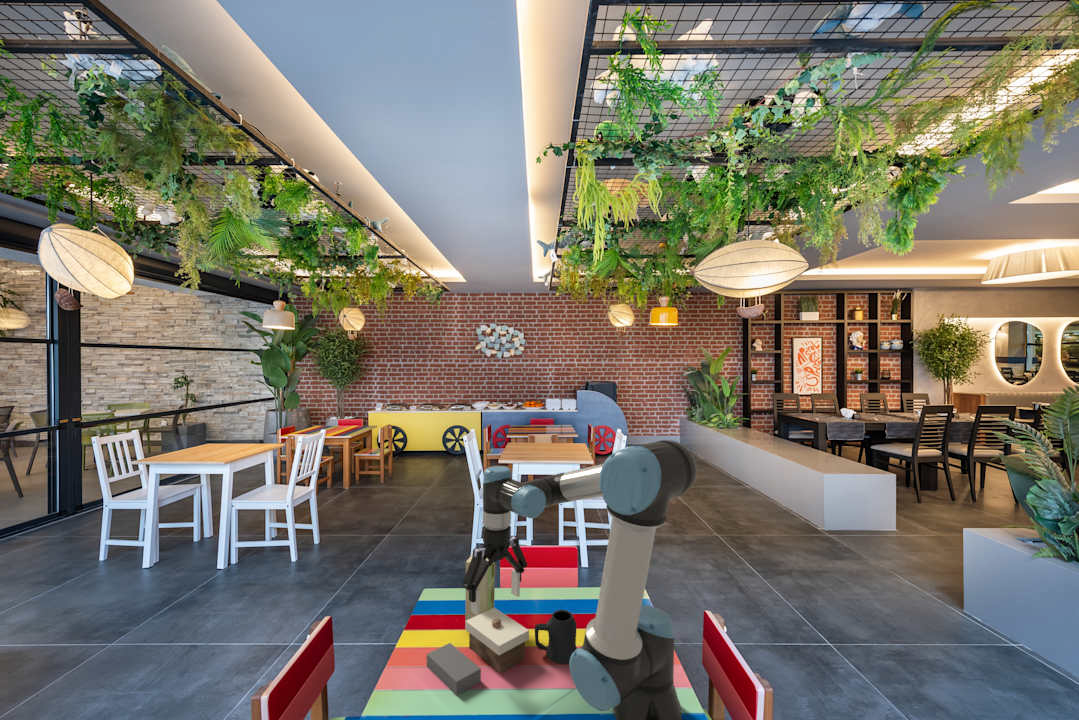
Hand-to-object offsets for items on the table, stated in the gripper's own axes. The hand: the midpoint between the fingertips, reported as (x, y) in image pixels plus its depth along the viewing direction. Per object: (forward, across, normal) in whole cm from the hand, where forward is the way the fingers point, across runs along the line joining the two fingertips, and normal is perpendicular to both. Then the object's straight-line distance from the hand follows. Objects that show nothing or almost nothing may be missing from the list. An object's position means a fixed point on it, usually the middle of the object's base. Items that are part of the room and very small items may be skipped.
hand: (495, 603), depth 128 cm
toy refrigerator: (+15, -5, -14) cm, 21 cm away
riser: (+14, +13, 0) cm, 19 cm away
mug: (+14, -12, +12) cm, 22 cm away
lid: (+8, 0, 0) cm, 8 cm away
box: (+14, 0, 0) cm, 14 cm away
